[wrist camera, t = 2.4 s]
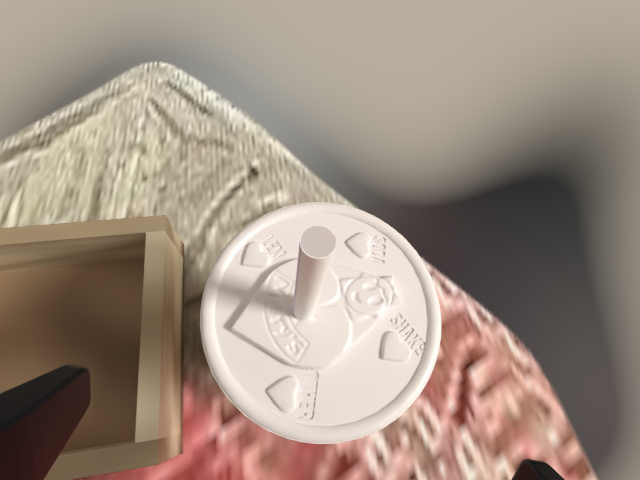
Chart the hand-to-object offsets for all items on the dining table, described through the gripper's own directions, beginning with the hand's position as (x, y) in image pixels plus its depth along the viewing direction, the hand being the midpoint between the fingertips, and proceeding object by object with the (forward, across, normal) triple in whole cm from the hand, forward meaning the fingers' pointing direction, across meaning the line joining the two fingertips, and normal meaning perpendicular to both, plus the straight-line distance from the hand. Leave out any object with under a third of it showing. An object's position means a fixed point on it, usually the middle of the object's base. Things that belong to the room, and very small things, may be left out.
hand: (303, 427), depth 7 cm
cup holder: (+8, +11, +7) cm, 15 cm away
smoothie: (+10, 0, +6) cm, 11 cm away
